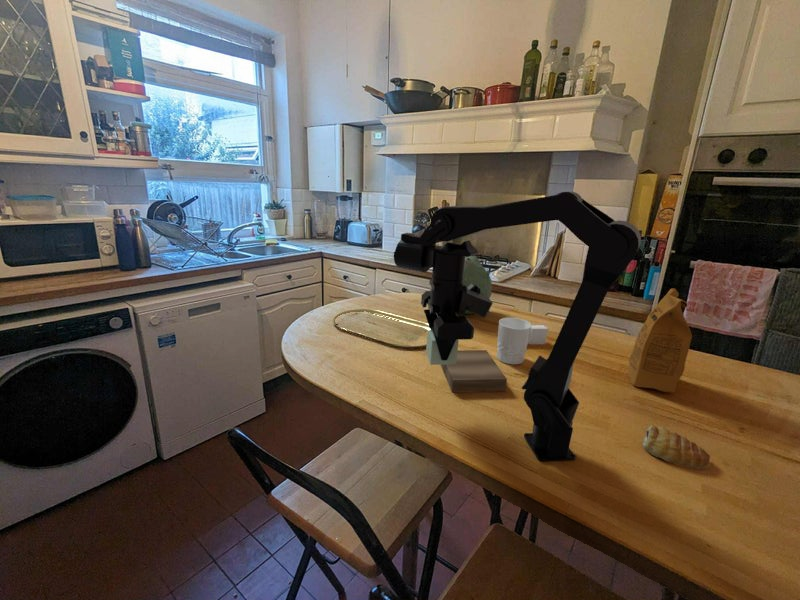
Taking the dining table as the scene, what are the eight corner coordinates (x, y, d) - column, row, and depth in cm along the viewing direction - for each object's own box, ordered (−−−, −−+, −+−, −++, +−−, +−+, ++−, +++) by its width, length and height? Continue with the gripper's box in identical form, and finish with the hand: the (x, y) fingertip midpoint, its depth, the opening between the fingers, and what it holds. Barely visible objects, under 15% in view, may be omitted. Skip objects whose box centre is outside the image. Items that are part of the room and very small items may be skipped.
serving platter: (420, 358, 96) (420, 352, 95) (320, 326, 113) (320, 321, 113) (450, 334, 111) (451, 329, 111) (358, 309, 128) (358, 305, 128)
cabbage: (498, 312, 130) (505, 255, 123) (468, 326, 117) (474, 263, 110) (461, 301, 140) (466, 248, 133) (429, 312, 127) (433, 255, 120)
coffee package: (672, 375, 91) (698, 290, 84) (678, 399, 81) (708, 305, 74) (626, 364, 96) (647, 282, 89) (625, 386, 86) (650, 295, 79)
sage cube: (456, 364, 71) (458, 340, 69) (430, 364, 70) (432, 340, 69) (450, 352, 76) (452, 329, 74) (426, 352, 75) (427, 329, 73)
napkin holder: (493, 343, 106) (495, 325, 104) (505, 331, 115) (508, 314, 113) (547, 358, 98) (551, 339, 96) (556, 344, 107) (560, 325, 106)
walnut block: (505, 391, 82) (506, 379, 81) (451, 392, 80) (452, 380, 79) (485, 360, 95) (486, 350, 94) (439, 361, 94) (439, 350, 93)
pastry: (705, 455, 65) (712, 437, 64) (708, 479, 60) (716, 460, 58) (643, 433, 70) (648, 416, 69) (640, 454, 65) (646, 436, 63)
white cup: (527, 367, 92) (533, 330, 89) (495, 363, 94) (499, 327, 90) (524, 353, 99) (529, 319, 96) (493, 350, 101) (498, 316, 98)
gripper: (509, 292, 60) (497, 377, 65) (475, 265, 77) (468, 333, 82) (441, 292, 58) (434, 378, 63) (422, 264, 76) (418, 334, 81)
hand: (441, 353), depth 73 cm, fingers closed on sage cube, 5 cm apart
